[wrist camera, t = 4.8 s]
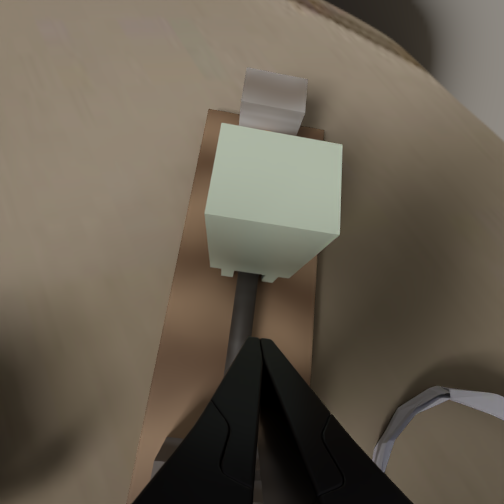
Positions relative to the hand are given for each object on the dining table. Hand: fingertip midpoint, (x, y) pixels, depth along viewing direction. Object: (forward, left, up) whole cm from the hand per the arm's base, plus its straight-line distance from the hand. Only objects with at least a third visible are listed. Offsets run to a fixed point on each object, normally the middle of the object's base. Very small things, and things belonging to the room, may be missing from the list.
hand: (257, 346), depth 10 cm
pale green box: (+4, +5, -9) cm, 11 cm away
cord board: (+3, +3, -11) cm, 11 cm away
